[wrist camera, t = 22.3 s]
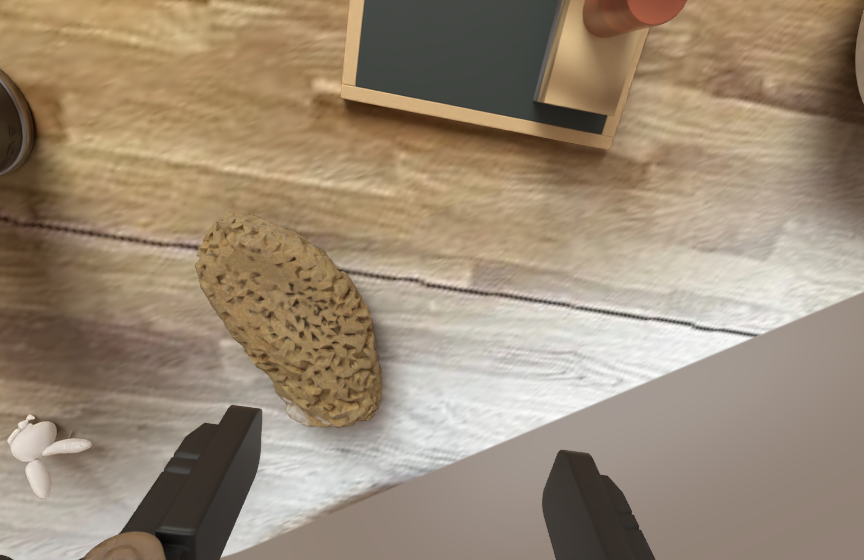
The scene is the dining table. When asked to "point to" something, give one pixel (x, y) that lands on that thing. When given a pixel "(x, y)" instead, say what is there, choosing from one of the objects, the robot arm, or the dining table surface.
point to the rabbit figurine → (41, 451)
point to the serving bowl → (860, 58)
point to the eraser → (595, 50)
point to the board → (466, 65)
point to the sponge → (293, 318)
